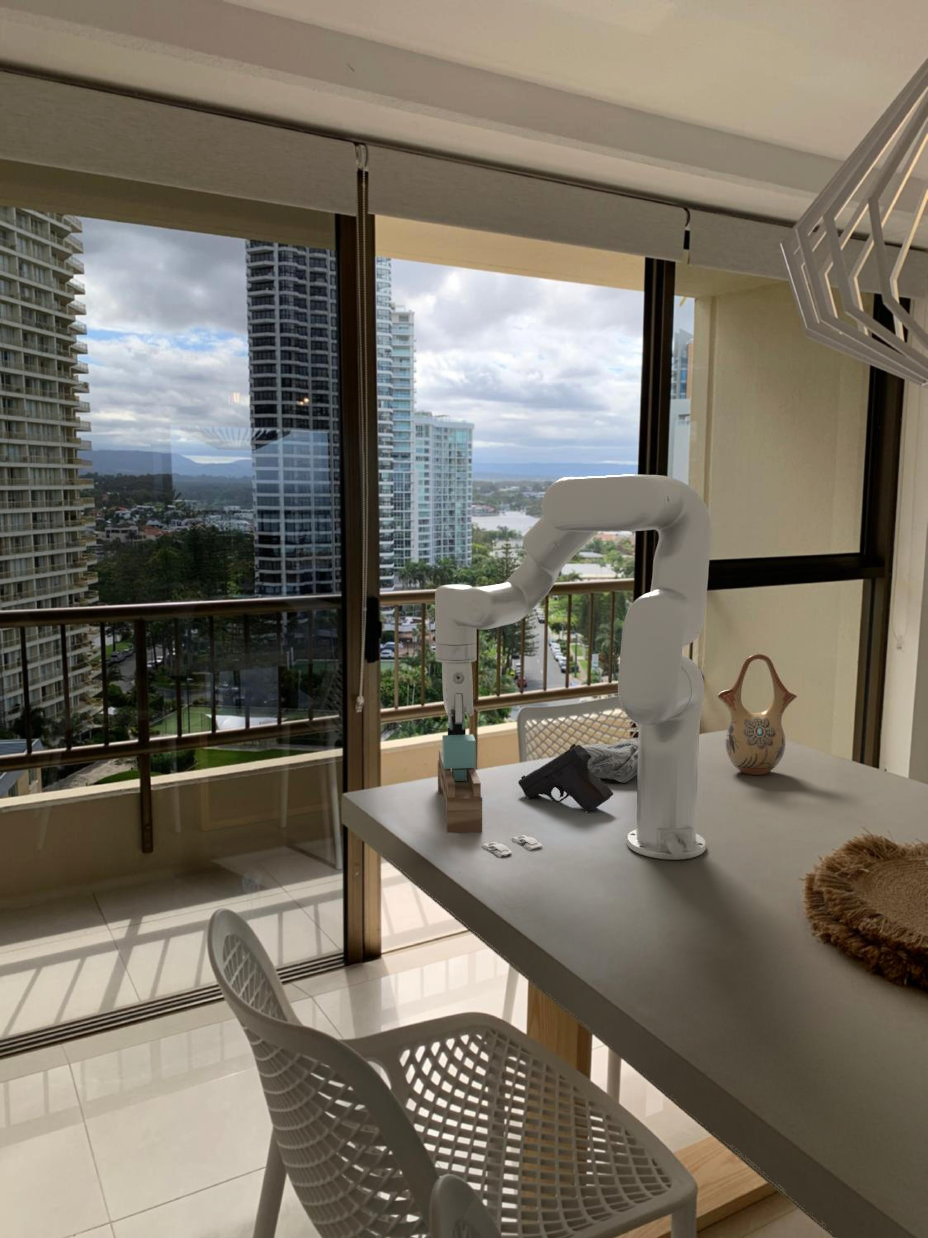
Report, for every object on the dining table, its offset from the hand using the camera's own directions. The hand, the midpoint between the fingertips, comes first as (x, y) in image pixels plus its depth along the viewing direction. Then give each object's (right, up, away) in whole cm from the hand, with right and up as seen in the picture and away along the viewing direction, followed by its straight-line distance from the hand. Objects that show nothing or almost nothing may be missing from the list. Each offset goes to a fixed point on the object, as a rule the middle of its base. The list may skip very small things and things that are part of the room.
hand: (456, 749), depth 171 cm
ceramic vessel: (+62, -8, +20) cm, 65 cm away
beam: (0, -11, -2) cm, 11 cm away
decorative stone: (+32, -8, +19) cm, 38 cm away
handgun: (+20, -11, +1) cm, 23 cm away
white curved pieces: (+9, -14, -20) cm, 26 cm away
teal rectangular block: (0, -5, -4) cm, 6 cm away
